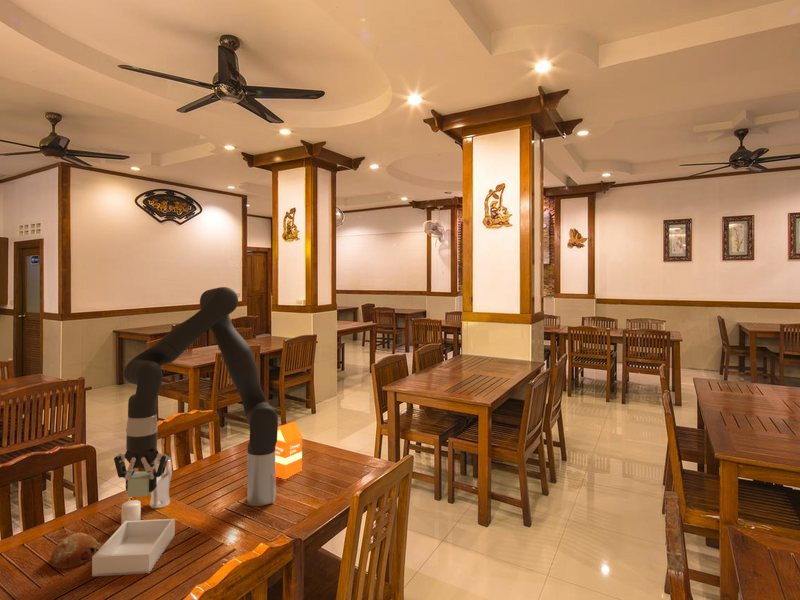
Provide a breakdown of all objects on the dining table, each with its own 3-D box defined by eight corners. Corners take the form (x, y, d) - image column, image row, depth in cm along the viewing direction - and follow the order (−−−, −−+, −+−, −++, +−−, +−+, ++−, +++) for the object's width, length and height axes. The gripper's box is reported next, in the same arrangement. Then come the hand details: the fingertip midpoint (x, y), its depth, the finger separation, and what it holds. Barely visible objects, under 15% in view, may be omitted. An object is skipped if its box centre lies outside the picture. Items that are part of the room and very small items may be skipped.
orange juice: (302, 472, 179) (302, 422, 179) (285, 480, 172) (285, 428, 171) (288, 468, 183) (288, 419, 183) (271, 475, 176) (271, 424, 175)
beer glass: (161, 510, 148) (161, 465, 147) (143, 507, 149) (143, 462, 149) (176, 500, 155) (176, 457, 154) (158, 498, 156) (158, 455, 156)
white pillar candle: (143, 522, 141) (143, 499, 140) (136, 530, 136) (136, 507, 135) (126, 522, 140) (126, 500, 140) (118, 531, 135) (118, 508, 135)
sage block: (154, 488, 130) (154, 471, 130) (146, 496, 125) (146, 478, 125) (136, 488, 129) (136, 471, 129) (127, 496, 124) (127, 478, 124)
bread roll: (75, 560, 127) (62, 535, 126) (110, 543, 127) (97, 518, 127) (51, 583, 117) (36, 556, 116) (89, 565, 118) (75, 538, 117)
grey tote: (174, 535, 133) (174, 518, 133) (149, 573, 116) (149, 554, 116) (125, 537, 132) (125, 520, 132) (92, 576, 114) (92, 557, 114)
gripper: (174, 426, 131) (173, 485, 132) (121, 427, 130) (120, 485, 130) (163, 435, 124) (162, 496, 124) (107, 435, 122) (106, 497, 123)
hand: (141, 490), depth 127 cm, fingers closed on sage block, 5 cm apart
